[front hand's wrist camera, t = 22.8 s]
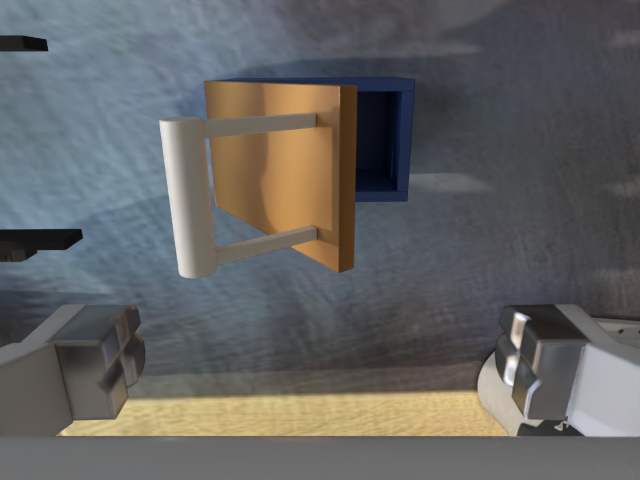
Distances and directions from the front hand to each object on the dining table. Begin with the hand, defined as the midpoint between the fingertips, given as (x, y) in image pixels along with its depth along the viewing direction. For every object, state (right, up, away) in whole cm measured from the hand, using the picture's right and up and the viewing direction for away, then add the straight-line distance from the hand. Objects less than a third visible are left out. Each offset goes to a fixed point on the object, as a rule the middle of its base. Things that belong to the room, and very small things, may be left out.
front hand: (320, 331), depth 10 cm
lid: (-3, +7, +19) cm, 20 cm away
